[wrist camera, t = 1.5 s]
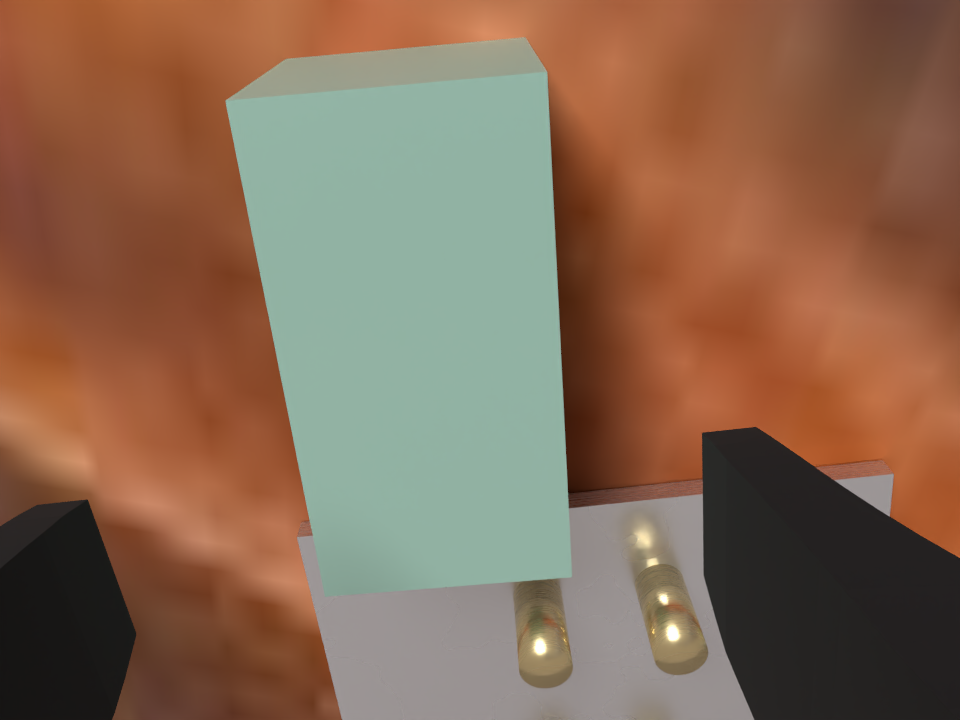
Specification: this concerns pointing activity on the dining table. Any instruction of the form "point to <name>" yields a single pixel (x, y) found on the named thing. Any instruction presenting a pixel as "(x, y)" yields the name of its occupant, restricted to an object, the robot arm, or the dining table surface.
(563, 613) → the standoff posts
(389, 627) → the plate
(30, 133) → the dining table surface
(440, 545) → the mint green cuboid
